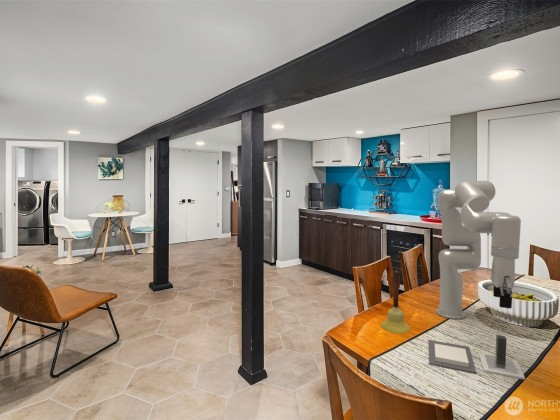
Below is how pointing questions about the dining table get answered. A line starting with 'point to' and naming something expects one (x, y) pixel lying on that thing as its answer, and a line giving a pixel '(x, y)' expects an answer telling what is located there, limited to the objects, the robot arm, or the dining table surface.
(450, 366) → the tile mat
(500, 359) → the post on square base
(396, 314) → the handbell
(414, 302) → the dining table surface
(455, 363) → the tile
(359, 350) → the dining table surface
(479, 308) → the dining table surface
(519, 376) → the pad
